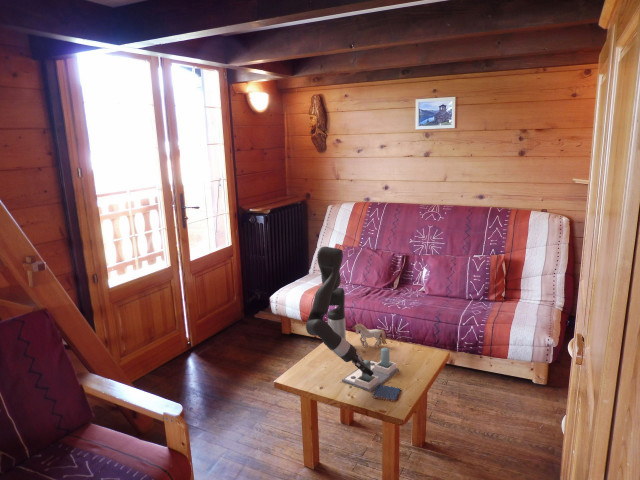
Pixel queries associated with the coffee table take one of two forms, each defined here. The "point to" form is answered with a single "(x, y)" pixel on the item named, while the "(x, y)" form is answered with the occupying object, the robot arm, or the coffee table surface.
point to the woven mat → (387, 393)
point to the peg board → (374, 373)
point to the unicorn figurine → (370, 335)
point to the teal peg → (364, 375)
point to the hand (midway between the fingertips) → (369, 370)
